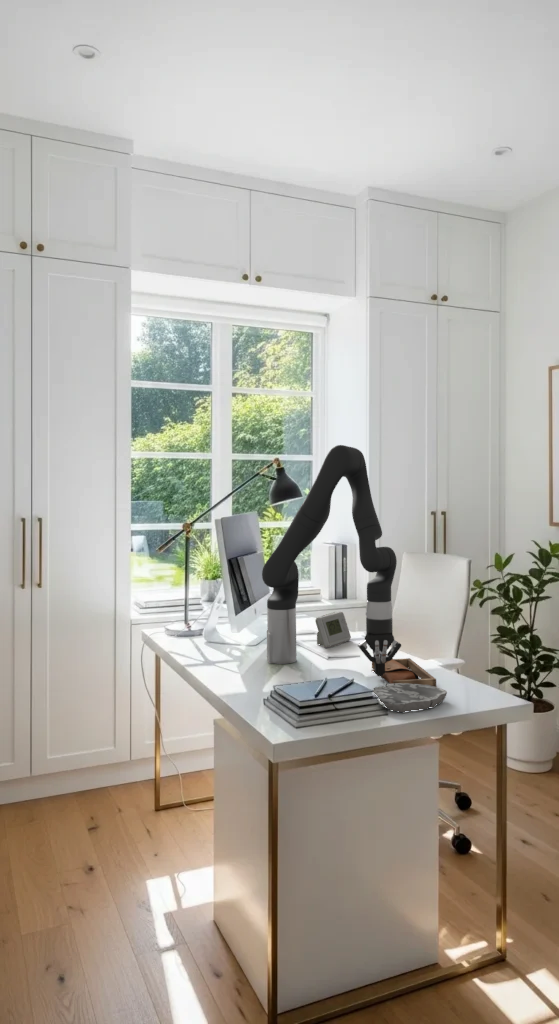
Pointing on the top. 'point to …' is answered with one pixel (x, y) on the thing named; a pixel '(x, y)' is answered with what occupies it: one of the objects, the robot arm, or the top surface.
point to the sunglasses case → (397, 672)
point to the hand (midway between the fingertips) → (379, 675)
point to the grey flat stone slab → (409, 696)
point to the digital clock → (332, 629)
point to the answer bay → (425, 676)
